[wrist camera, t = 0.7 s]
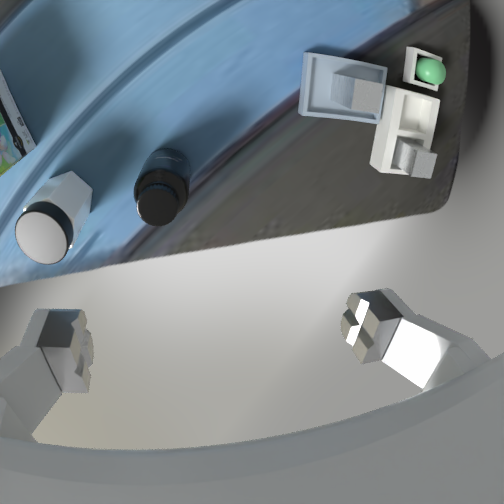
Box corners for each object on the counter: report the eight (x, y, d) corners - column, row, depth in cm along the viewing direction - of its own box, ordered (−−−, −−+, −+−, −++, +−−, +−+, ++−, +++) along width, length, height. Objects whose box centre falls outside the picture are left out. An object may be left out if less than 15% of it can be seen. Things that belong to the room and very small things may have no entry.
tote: (303, 52, 36) (308, 52, 34) (380, 66, 38) (387, 67, 36) (298, 112, 41) (302, 115, 40) (372, 120, 43) (379, 124, 42)
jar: (36, 196, 41) (3, 238, 31) (62, 160, 39) (27, 195, 29) (76, 230, 46) (53, 277, 36) (104, 197, 44) (82, 240, 34)
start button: (416, 54, 36) (428, 56, 33) (435, 61, 36) (447, 63, 34) (413, 78, 38) (425, 81, 36) (432, 83, 39) (443, 87, 36)
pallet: (383, 84, 40) (396, 87, 37) (426, 95, 41) (440, 99, 38) (369, 163, 48) (380, 172, 45) (411, 167, 49) (423, 176, 46)
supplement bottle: (177, 138, 41) (171, 168, 31) (198, 178, 45) (199, 219, 35) (134, 160, 42) (116, 197, 32) (157, 198, 46) (147, 243, 36)
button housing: (406, 46, 36) (414, 47, 34) (434, 56, 37) (442, 57, 35) (402, 81, 40) (409, 83, 38) (430, 88, 41) (437, 91, 39)
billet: (332, 73, 37) (355, 78, 32) (358, 77, 38) (383, 84, 32) (329, 100, 40) (351, 110, 34) (354, 103, 40) (378, 114, 35)
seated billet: (392, 136, 44) (417, 150, 38) (411, 139, 44) (437, 154, 39) (387, 159, 46) (411, 177, 41) (406, 161, 47) (430, 179, 41)
